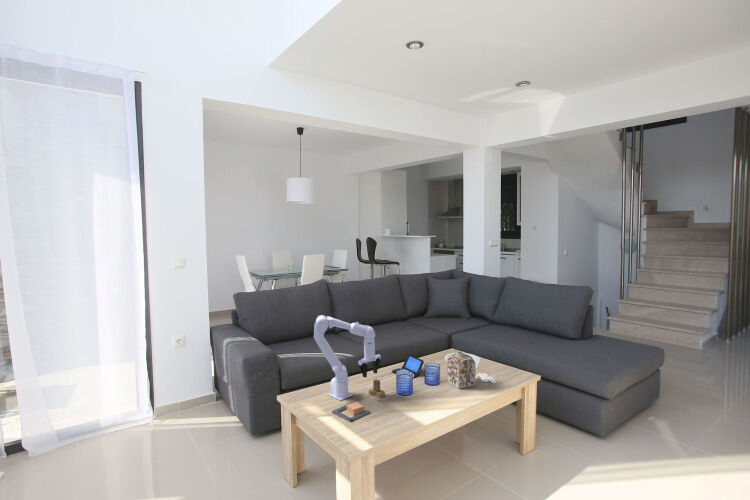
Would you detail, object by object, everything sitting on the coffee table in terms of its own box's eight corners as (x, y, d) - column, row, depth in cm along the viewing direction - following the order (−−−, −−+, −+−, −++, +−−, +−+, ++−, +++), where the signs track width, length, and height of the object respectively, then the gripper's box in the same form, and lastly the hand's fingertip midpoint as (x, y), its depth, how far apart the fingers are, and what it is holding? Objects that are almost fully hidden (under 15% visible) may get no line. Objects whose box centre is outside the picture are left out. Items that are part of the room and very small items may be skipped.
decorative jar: (446, 382, 235) (446, 351, 234) (462, 378, 240) (463, 348, 239) (458, 389, 224) (458, 357, 223) (476, 386, 229) (476, 354, 228)
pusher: (368, 394, 220) (368, 379, 220) (374, 391, 223) (374, 377, 223) (379, 398, 215) (379, 383, 214) (384, 396, 217) (384, 381, 217)
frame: (332, 412, 199) (332, 410, 198) (351, 404, 207) (351, 402, 207) (350, 421, 189) (350, 419, 189) (369, 412, 198) (369, 410, 198)
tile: (346, 411, 201) (346, 405, 201) (356, 407, 204) (356, 401, 204) (353, 415, 196) (353, 409, 196) (363, 412, 200) (363, 406, 199)
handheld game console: (391, 372, 252) (390, 357, 251) (408, 368, 259) (408, 353, 259) (406, 380, 239) (406, 364, 238) (424, 375, 246) (424, 360, 245)
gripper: (364, 354, 210) (365, 380, 211) (384, 348, 220) (384, 373, 221) (355, 351, 215) (355, 377, 216) (375, 345, 225) (375, 370, 226)
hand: (369, 375), depth 219 cm, fingers open, 7 cm apart
